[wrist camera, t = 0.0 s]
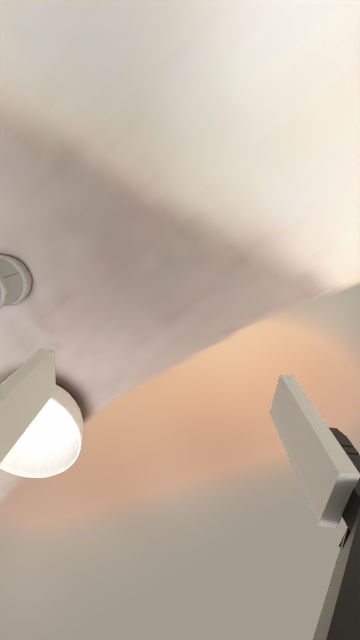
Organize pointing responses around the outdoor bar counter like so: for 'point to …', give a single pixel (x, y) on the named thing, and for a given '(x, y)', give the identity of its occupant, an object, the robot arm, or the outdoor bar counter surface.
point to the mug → (13, 281)
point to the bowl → (48, 440)
